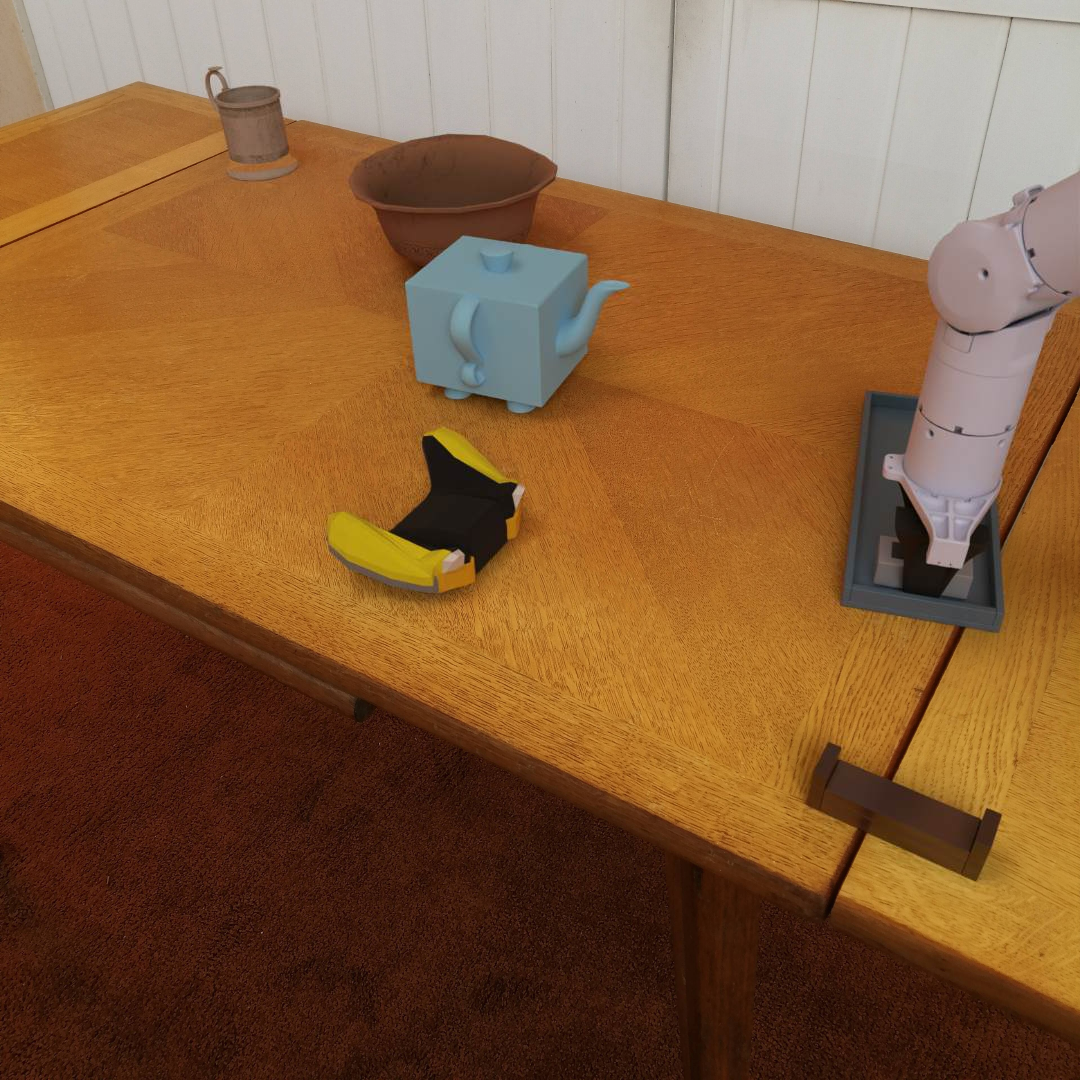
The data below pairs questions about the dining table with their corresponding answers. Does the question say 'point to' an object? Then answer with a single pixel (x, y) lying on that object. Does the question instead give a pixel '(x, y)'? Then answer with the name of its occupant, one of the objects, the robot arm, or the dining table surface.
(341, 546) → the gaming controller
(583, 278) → the teapot
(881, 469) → the tray
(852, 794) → the brown drawer handle
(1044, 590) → the dining table surface
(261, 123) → the mug
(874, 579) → the grey block
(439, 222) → the bowl
